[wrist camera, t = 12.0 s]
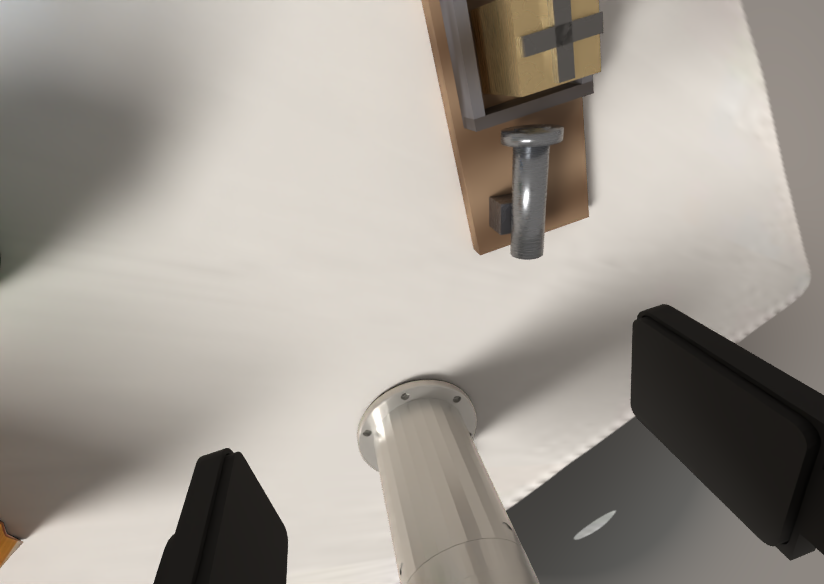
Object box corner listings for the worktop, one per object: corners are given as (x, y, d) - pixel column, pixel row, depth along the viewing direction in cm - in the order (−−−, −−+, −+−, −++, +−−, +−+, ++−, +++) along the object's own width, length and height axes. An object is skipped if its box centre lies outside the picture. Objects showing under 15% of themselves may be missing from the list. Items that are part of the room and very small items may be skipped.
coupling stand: (578, 212, 37) (607, 225, 34) (473, 249, 36) (491, 267, 33) (545, -281, 23) (589, -345, 19) (371, -236, 22) (384, -294, 19)
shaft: (476, 123, 32) (517, 134, 26) (525, 117, 32) (576, 126, 26) (478, 235, 36) (513, 267, 30) (521, 228, 37) (564, 258, 30)
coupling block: (541, -12, 27) (604, -35, 22) (548, 72, 30) (607, 71, 24) (469, 10, 27) (514, -8, 21) (483, 93, 29) (526, 97, 24)
